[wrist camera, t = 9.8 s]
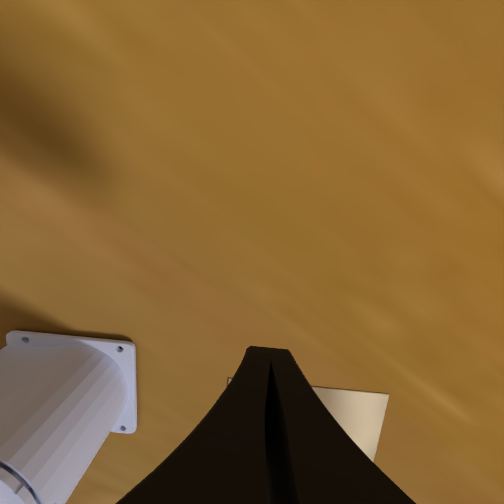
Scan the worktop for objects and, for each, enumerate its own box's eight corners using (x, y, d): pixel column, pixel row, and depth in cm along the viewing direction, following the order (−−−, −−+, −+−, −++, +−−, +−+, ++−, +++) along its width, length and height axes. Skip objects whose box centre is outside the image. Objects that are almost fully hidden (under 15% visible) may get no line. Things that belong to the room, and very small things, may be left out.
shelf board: (221, 486, 24) (220, 490, 24) (229, 376, 21) (228, 378, 21) (362, 502, 24) (363, 505, 24) (387, 391, 21) (389, 394, 21)
